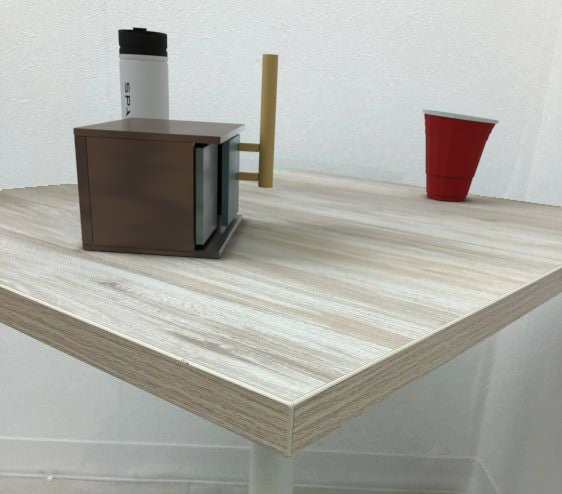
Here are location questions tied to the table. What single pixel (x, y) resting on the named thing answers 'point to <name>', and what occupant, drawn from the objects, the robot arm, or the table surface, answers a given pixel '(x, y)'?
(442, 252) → the table surface
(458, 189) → the plastic cup
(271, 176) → the glass door
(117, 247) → the brown wooden cabinet
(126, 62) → the travel mug
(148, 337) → the table surface
